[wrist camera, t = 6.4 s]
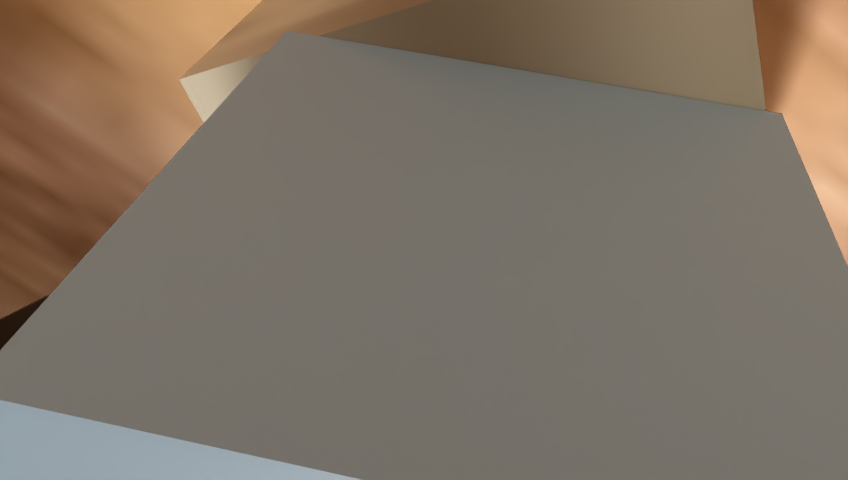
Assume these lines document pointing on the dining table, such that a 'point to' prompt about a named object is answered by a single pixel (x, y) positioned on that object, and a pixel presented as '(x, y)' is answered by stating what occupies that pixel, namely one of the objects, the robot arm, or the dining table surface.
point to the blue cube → (446, 291)
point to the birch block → (519, 41)
